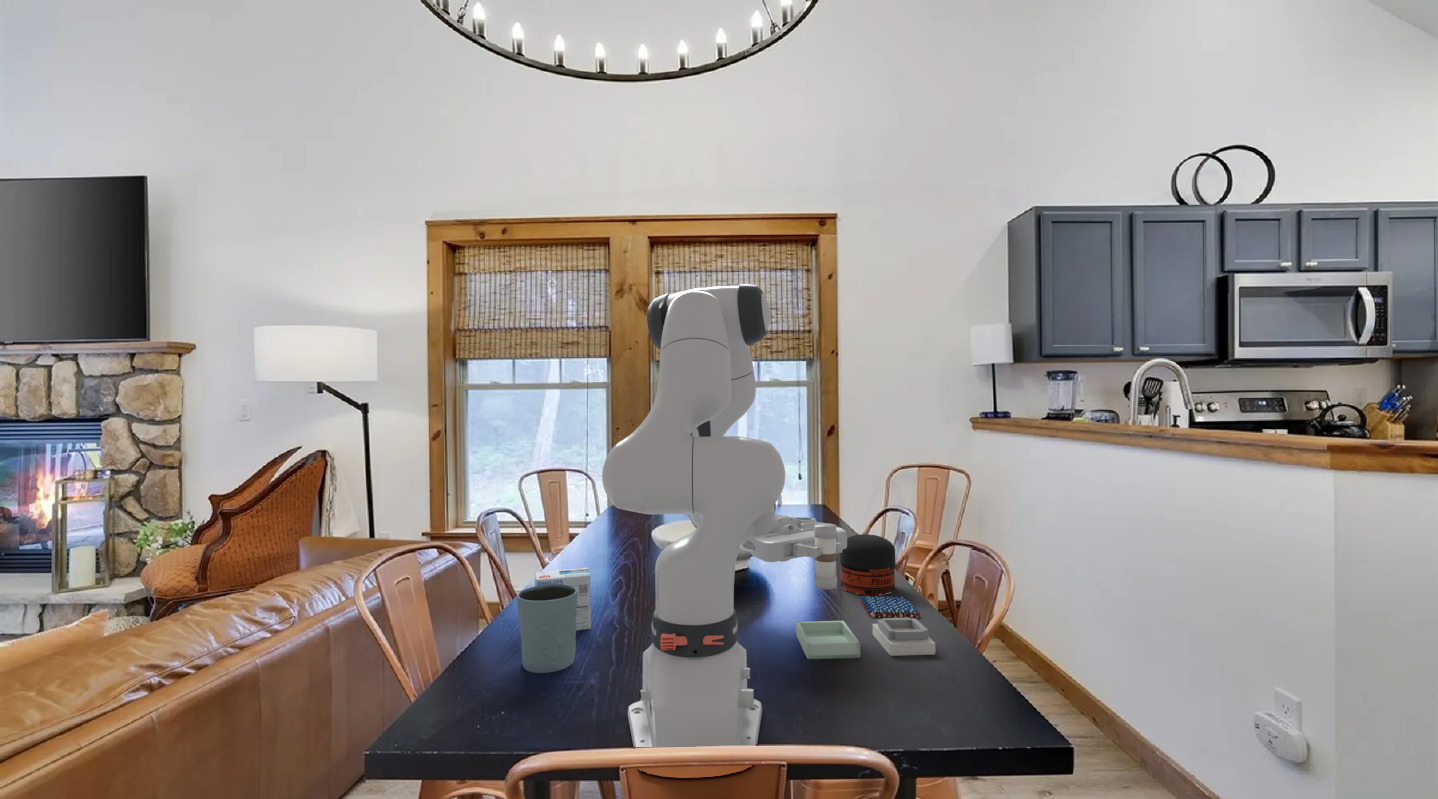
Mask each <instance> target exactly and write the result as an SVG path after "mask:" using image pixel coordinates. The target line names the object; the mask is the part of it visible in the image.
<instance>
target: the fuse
mask: <svg viewBox="0 0 1438 799" xmlns="http://www.w3.org/2000/svg"><path fill="white" fill-rule="evenodd" d="M837 527H838V526H837V524H833V523H828V522H827V523H826V522H819V524H815V525H814V536H815V546H817V547H820V548H821V557H817V558H814V564H815V565H814V571H815V572H814V587H815V588H817V589H821V590H835V589H837V587H838V574H837V559H838V558H837V555H838V554H837V552H836V537H837Z"/></svg>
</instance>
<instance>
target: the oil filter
mask: <svg viewBox="0 0 1438 799" xmlns="http://www.w3.org/2000/svg"><path fill="white" fill-rule="evenodd" d="M839 563H840V588H841V587H842V588H844V589H846V590H847V591H849V592H848V593H850V592H854V593H859V594H864V595H863V596H867V595H879V594H886V593H889V592H893V591H894V590H895V588H896V583H895V582H896V581H895V580H896V576H895V575H896V574H895V572H896V570H895V566H896V548H895V545H894V544H893V543H892V542H891V541H889V540H888V539H887V538H886V537H882V536H880V535H876V534H868V533H865V534H862V533H861V534H860V533H859V534H855V535H850V536H847V548H846V549H842V553H839ZM842 588H841V589H842ZM847 591H846V592H847ZM895 591H896V590H895ZM895 591H894V592H895ZM894 592H893V593H894Z"/></svg>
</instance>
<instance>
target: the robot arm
mask: <svg viewBox="0 0 1438 799" xmlns="http://www.w3.org/2000/svg"><path fill="white" fill-rule="evenodd" d="M771 314H772V312H771V307H770V304H769V301H768V299H767V296H765V293H764V291H763V290H762V289H761V287H759V286H758V285H755V284H745V283H742V284H741V283H739V285H729V286H728V285H727V286H725V285H724V286H710V287H697V288H692V289H688V290H683V291H679V292H676V293H675V292H674V293H666V294H662V295H660V296H657V297H656V298H654V299H653V300H652V301H651V303H650V304H649V305H648V307H647V311H646V328H647V332H648V335H649V338H650V340H651V342H652V344H653V346H654V347H656V349H659V350H660V352H659V370H658V380H657V387H656V394H655V398H654V401H653V403H652V406H651V409H650V411H649V412H648V414H647V416H645V418H644V420H643V421H642V422H641V424H640V425H638V427H637V428H636V429H635V430H634V431H633V432H632V433H630V434H629V435H627V436H626V437H625V438H623V439H622V440H620V441H619V442H617V443H616V444H615V445H614V446H612V448H611V449H610V451H609V452H608V454H607V455H606V458H605V460H604V463H603V466H602V472H601V473H602V474H601V478H602V480H601V481H602V486H603V488H604V492H605V495H606V497H607V498H608V499H609V501H610V502H611V503H612V505H613V506H614V507H615V508H616V509H620V510H623V511H629V512H633V513H638V514H643V515H644V514H646V515H688V516H689V519H690V521H691V524H692V525H693V526H694V528H695V530H693V531H692V532H691V533H688V534H687V535H685V536H683V537H681V538H678V539H677V540H675V541H674V542H671V543H670V544H668V545H667V546H666V547H664V549H663V550H662V551H661V552H660V553H659V554H658V557H657V559H656V562H655V565H654V566H655V569H654V570H655V610H654V611H653V612H652V621H651V633H652V634H651V636H652V638H651V641H652V643H651V644H650V646H649V647H647V649H645V650H644V651H643V652H642V689H639V690H640V691H638V695H639V696H638V698H639V699H640V700H639V701H638V700H637V701H636V702H633V703H632V704H630V705H628V708H627V709H628V710H627V718H628V724H629V729H630V734H631V740H632V745H633V748H634V747H692V746H693V747H696V746H719V745H756V744H757V745H758V740H759V733H760V727H761V720H762V714H763V708H762V707H763V706H762V703H761V702H760V701H759V699H758V700H757V699H756V698H754V696H755V694H754V689H753V688H748V679H751V668H750V667H748V664H747V663H748V662H747V660H748V659H747V649H746V648H744V647H743V646H742V645H741V644H740V643H739V642H738V628H739V626H738V625H739V624H738V623H739V622H738V619H737V611H736V609H734V608H735V607H734V593H735V592H734V590H735V588H734V587H735V586H734V585H735V574H736V572H735V571H736V564H737V562H736V561H737V558H738V553H739V549H741V550H743V551H746V552H750V553H751V555H752V556H753V557H754V558H756V559H758V560H761V561H763V562H767V563H777V562H788V561H790V560H792V559H798V558H803V557H804V558H805V557H807V558H812V559H815V558H817V557H821V548H820V547H817V546H815V536H814V525H815V524H819V523H820V521H819V522H818V521H817V519H816V518H813V517H793V516H789V515H781V514H778V513H776V508H777V507H776V506H777V504H776V503H777V501H778V500H779V499H780V497H781V496H782V493H783V490H784V488H785V487H784V486H785V482H786V468H785V464H784V461H783V459H782V457H781V454H780V453H779V451H778V450H777V449H776V448H775V446H774V445H773V444H772V443H771V442H769V441H765V440H760V439H755V438H751V437H746V436H745V437H744V436H734V435H733V436H731V435H730V436H725V434H726V433H727V432H728V430H730V428H731V427H733V425H734V424H735V423H737V421H738V420H740V419H741V418H742V417H743V416H745V414H746V413H747V412H748V410H749V409H750V408H751V406H752V405H753V402H755V398H756V391H757V390H756V389H757V387H756V384H757V383H756V377H755V376H756V375H755V371H754V365H753V360H752V355H751V350H750V347H752V346H755V344H756V343H758V342H761V341H762V340H763V339H764V338H765V337H766V336H767V334H768V332H769V328H770V324H771V319H772V318H771ZM847 538H848V534H847V531H846V530H845V529H844V528H841V527H839V526H837V537H836V552H837V555H840V553H842V549H846V548H847Z"/></svg>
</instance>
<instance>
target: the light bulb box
mask: <svg viewBox="0 0 1438 799" xmlns="http://www.w3.org/2000/svg"><path fill="white" fill-rule="evenodd" d="M548 584H567V585H571V586H574V587H576V588H577V589H578V598H577V609H576V612H577V616H576V631H583V630H591V629H592V608H591V605H592V604H591V602H592V600H591V598H592V597H591V573H590V571H589V570H588V567H577V568H570V569H569V568H567V569H559V570H558V569H557V570H547V571H535V573H534V587H535V586H540V585H548Z"/></svg>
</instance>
